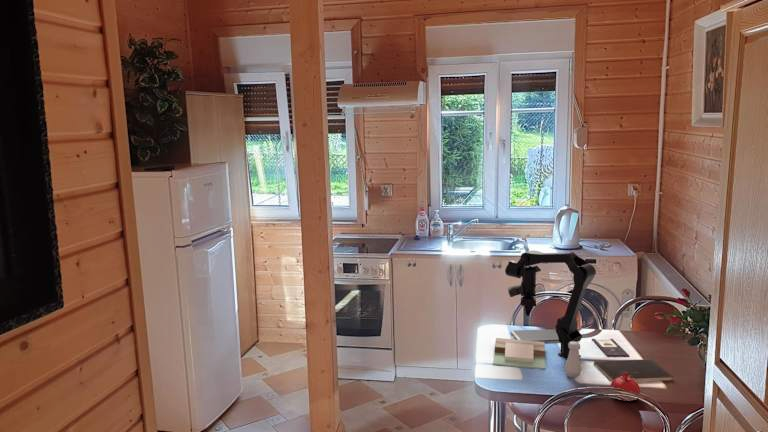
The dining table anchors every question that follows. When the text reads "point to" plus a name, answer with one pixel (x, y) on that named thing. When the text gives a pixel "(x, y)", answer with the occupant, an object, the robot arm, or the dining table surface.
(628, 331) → the dining table surface
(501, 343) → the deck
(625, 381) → the pomegranate
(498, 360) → the mat
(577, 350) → the salt shaker
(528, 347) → the pale pink slab
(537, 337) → the smartphone
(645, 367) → the hardcover book
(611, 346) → the chocolate bar
